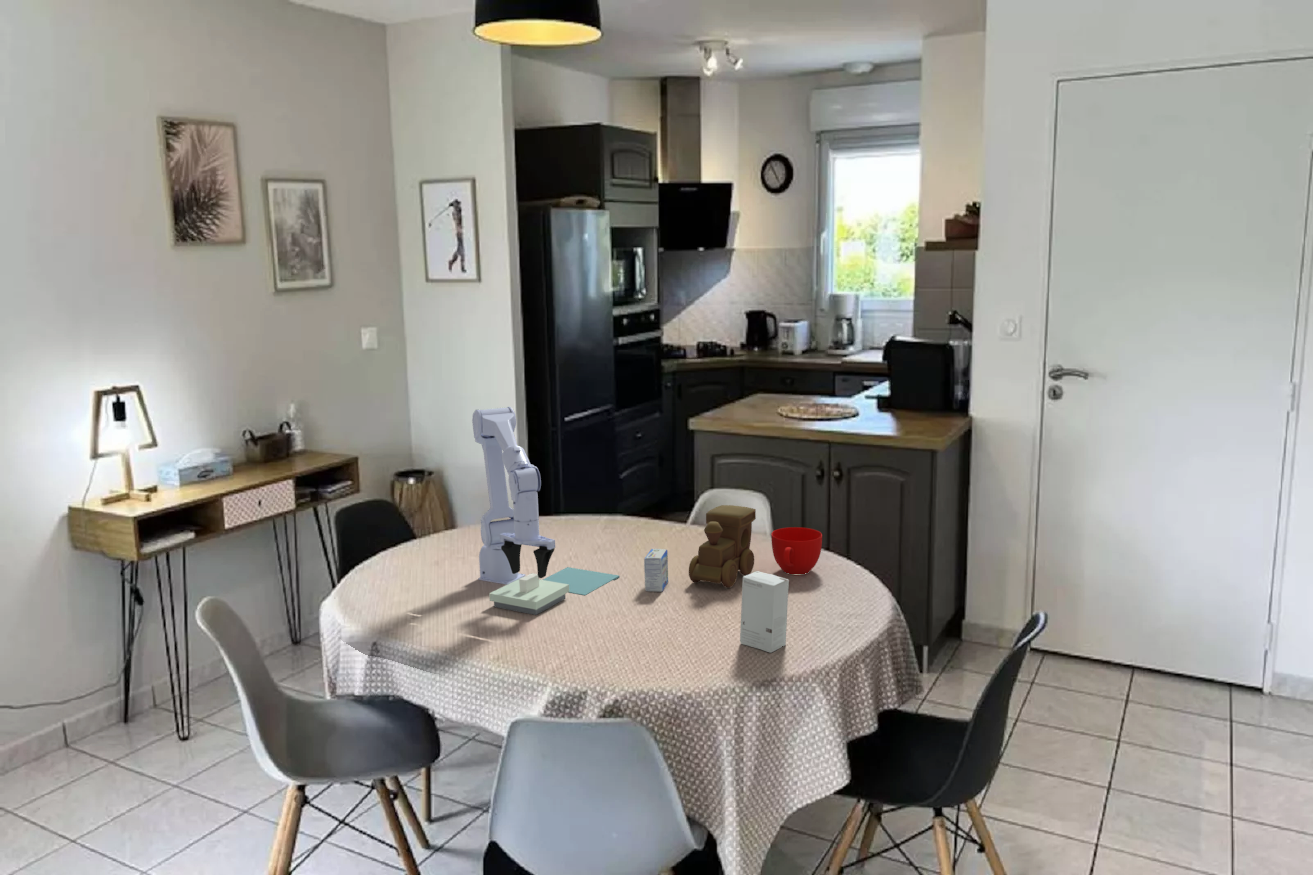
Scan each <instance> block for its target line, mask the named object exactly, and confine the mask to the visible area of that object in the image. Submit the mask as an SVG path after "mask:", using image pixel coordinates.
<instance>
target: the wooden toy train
mask: <svg viewBox="0 0 1313 875" xmlns="http://www.w3.org/2000/svg"><path fill="white" fill-rule="evenodd" d="M756 516H757V513H756V508H752V507H748V506H742V505H741V506H740V505H731V504H729V505H728V504H723V505H722V504H721V505H719V506H716V507H714V508H712V509H710V510H708V511H707V512H706V514H705V524H706V526H705V528H704V530H703V532H704V534H705V536H706V538H707V541H704V542H702V544H701V545H700V546H698V553H697V555H694V556H693V557H692V558H691V560H690V561H689V562H690V563H689V565H688V576H689V579H690V581H691V582H692V583H694V584H697V583H700V582H701V581H703V582H707V583H708V582H709V583H714V584H720V583H721V585H722V586H723V587H724V588H726V589H730V588H732V587H733V586H734V585H735V583H736V582H737V579H738V571H739V572H740V574H741V575H742V576H743V577H744V576H746V575H749V574H751V573H753V572H752V571H753V570H754V567H755V566H754V565H755V554H754V552H753V550H752V549H750V547H751V542H752V541H751V540H752V530H753V528H752V526H753V525H752V524H753V523H752V522H754V521H755V520H756V518H757V517H756Z"/></svg>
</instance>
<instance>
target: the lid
mask: <svg viewBox="0 0 1313 875" xmlns="http://www.w3.org/2000/svg"><path fill="white" fill-rule="evenodd" d="M567 593H569V584H563V583H557V582H552V581H546V580H543V579H541V578H539V577H538V573H534V572H532V573H529V574H527V575H526V576H524V577H522V578H520V579H518V580H516V581H514V582H512V583H510V584H507V585H506V584H505V585H504V586H501V587H499V588H498V589H495V590H493V591H491V592H489V596H488V597H489V602H493V603H494V602H499V603H504V604H509V605H514V606H520V607H525V608H530V609H535V610H537V609H538V608H540V607H542V606H544V605H546V604H548V603H550V602H551V601H553V600H555V599H557V598H559V597H561V596H562V595H564V594H565V595H566V594H567Z"/></svg>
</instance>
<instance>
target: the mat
mask: <svg viewBox="0 0 1313 875" xmlns="http://www.w3.org/2000/svg"><path fill="white" fill-rule="evenodd" d="M620 577H621V576H620V575H619V574H612V573H607V572H601V571H594V570H590V569H589V570H587V569H581V568H575V567H571V566H570V567H569V566H567V567H565V568H563V569H560V570H559V571H557V572H555V573H553V574H551V575H549V576H547V577H545V578H542V580H546V581H552V582H557V583H563V584H569V592H568V593H570V594H574V595H580V596H587V595H588V594H591V593H592V592H594V591H595V590H597V589H599V588H601V587H603V586H605V585H606V584H608V583H610V582H612V581H616V580H618V579H619V578H620Z"/></svg>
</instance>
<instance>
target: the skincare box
mask: <svg viewBox="0 0 1313 875" xmlns="http://www.w3.org/2000/svg"><path fill="white" fill-rule="evenodd" d="M789 582H790V581H789V579H788V578H785V577H782V576H777V575H776V574H771V573H766V572H762V571H759V570H757V571H756V570H755V571H754V572H751V573H750V574H749V575H746V576H744V575H743V576H742V586H741V605H740V606H741V613H740V631H739V632H740V633H739V643H740V644H741V645H743V646H747V647H751V648H755V649H757V650H758V649H759V650H761V651H764V652H768V653H771V654H772V653H774V652H776V651H777V650H780V649H781V648H783V647H784V646H786V644H787V643H786V642H787V625H788V605H789V603H788V601H789V584H790V583H789ZM782 646H783V647H782Z"/></svg>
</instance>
